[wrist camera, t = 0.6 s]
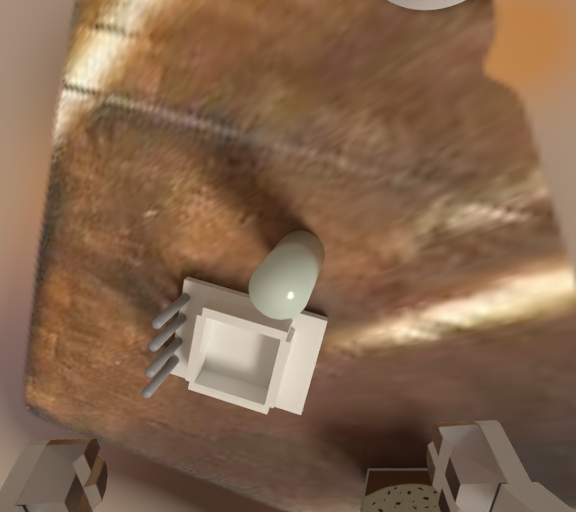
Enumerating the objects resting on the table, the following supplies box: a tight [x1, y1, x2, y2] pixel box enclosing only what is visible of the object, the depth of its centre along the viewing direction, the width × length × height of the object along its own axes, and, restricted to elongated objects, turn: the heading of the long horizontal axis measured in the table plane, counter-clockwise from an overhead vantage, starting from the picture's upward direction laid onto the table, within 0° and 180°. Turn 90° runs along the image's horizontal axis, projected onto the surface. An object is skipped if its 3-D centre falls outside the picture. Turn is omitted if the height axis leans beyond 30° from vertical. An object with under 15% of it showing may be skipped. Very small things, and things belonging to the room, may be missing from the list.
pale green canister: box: [249, 230, 325, 320], centre depth 42 cm, size 5×5×11 cm
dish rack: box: [142, 277, 328, 415], centre depth 48 cm, size 12×16×8 cm
